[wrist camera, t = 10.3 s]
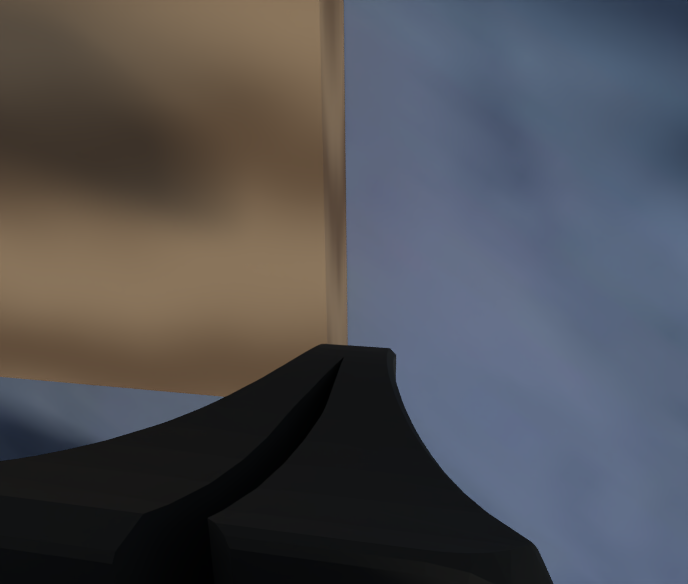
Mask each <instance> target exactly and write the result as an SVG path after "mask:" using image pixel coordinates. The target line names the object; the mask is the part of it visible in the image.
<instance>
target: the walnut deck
mask: <svg viewBox="0 0 688 584" xmlns="http://www.w3.org/2000/svg"><path fill="white" fill-rule="evenodd" d="M320 344H335V345H347V260H346V175H345V89H344V3H343V0H0V377H10V378H21V379H32V380H44V381H55V382H66V383H77V384H89V385H100V386H111V387H122V388H133V389H145V390H156V391H167V392H178V393H190V394H201V395H212V396H223V397H226V396H228V395H230V394H232V393H234V392H236V391H238V390H239V389H241V388H243V387H245V386H247V385H249V384H251V383H253V382H255V381H257V380H259V379H260V378H262V377H264V376H266V375H267V374H269V373H271V372H272V371H274V370H276V369H277V368H279V367H281V366H283V365H284V364H286V363H288V362H289V361H291V360H293V359H294V358H296V357H298V356H299V355H301V354H303V353H304V352H306V351H308V350H310V349H312V348H313V347H315V346H317V345H320Z"/></svg>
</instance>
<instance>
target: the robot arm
mask: <svg viewBox="0 0 688 584" xmlns="http://www.w3.org/2000/svg"><path fill="white" fill-rule="evenodd" d="M0 584H553V582H552V580H551V577H550V575H549V573H548V571H547V568H546V566H545V564H544V561H543V559H542V557H541V555H540V553H539V551H538V549H537V548H536V546H535V545H534V544H533V543H532V542H531V541H529V540H528V539H526V538H525V537H523V536H522V535H520V534H519V533H517V532H516V531H514V530H513V529H511V528H510V527H508V526H507V525H505V524H504V523H502V522H501V521H499V520H498V519H496V518H495V517H493V516H492V515H490V514H489V513H487V512H486V511H485V510H483V509H482V508H481V507H480V506H479V505H478V504H476V503H475V502H474V501H473V500H472V499H470V498H469V497H468V496H467V495H466V494H465V493H463V492H462V490H461V489H460V488H459V487H458V486H457V485H456V484H455V483H454V482H453V481H452V480H451V479H450V478H449V477H448V476H447V475H446V474H445V472H444V471H443V470H442V469H441V467H440V466H439V465H438V463H437V462H436V461H435V459H434V458H433V457H432V455H431V454H430V452H429V451H428V449H427V448H426V446H425V445H424V443H423V442H422V440H421V439H420V437H419V435H418V433H417V432H416V430H415V428H414V426H413V424H412V422H411V420H410V418H409V416H408V414H407V412H406V409H405V407H404V404H403V402H402V399H401V396H400V393H399V390H398V387H397V384H396V355H395V353H394V352H393V351H392V350H391V349H390V348H378V347H364V346H349V345H335V344H320V345H317V346H315V347H313V348H312V349H310V350H308V351H306V352H304V353H303V354H301V355H299V356H298V357H296V358H294V359H293V360H291V361H289V362H288V363H286V364H284V365H283V366H281V367H279V368H277V369H276V370H274V371H272V372H271V373H269V374H267V375H266V376H264V377H262V378H260V379H259V380H257V381H255V382H253V383H251V384H249V385H247V386H245V387H243V388H241V389H239V390H238V391H236V392H234V393H232V394H230V395H228V396H226V397H224V398H222V399H220V400H218V401H216V402H214V403H212V404H209V405H207V406H205V407H203V408H200V409H198V410H196V411H193V412H191V413H188V414H186V415H183V416H180V417H178V418H175V419H173V420H170V421H168V422H165V423H162V424H159V425H156V426H153V427H149V428H146V429H143V430H139V431H136V432H133V433H129V434H126V435H123V436H119V437H116V438H113V439H109V440H106V441H102V442H98V443H94V444H90V445H85V446H81V447H77V448H72V449H68V450H63V451H58V452H53V453H48V454H43V455H37V456H32V457H26V458H20V459H13V460H6V461H0Z"/></svg>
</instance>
